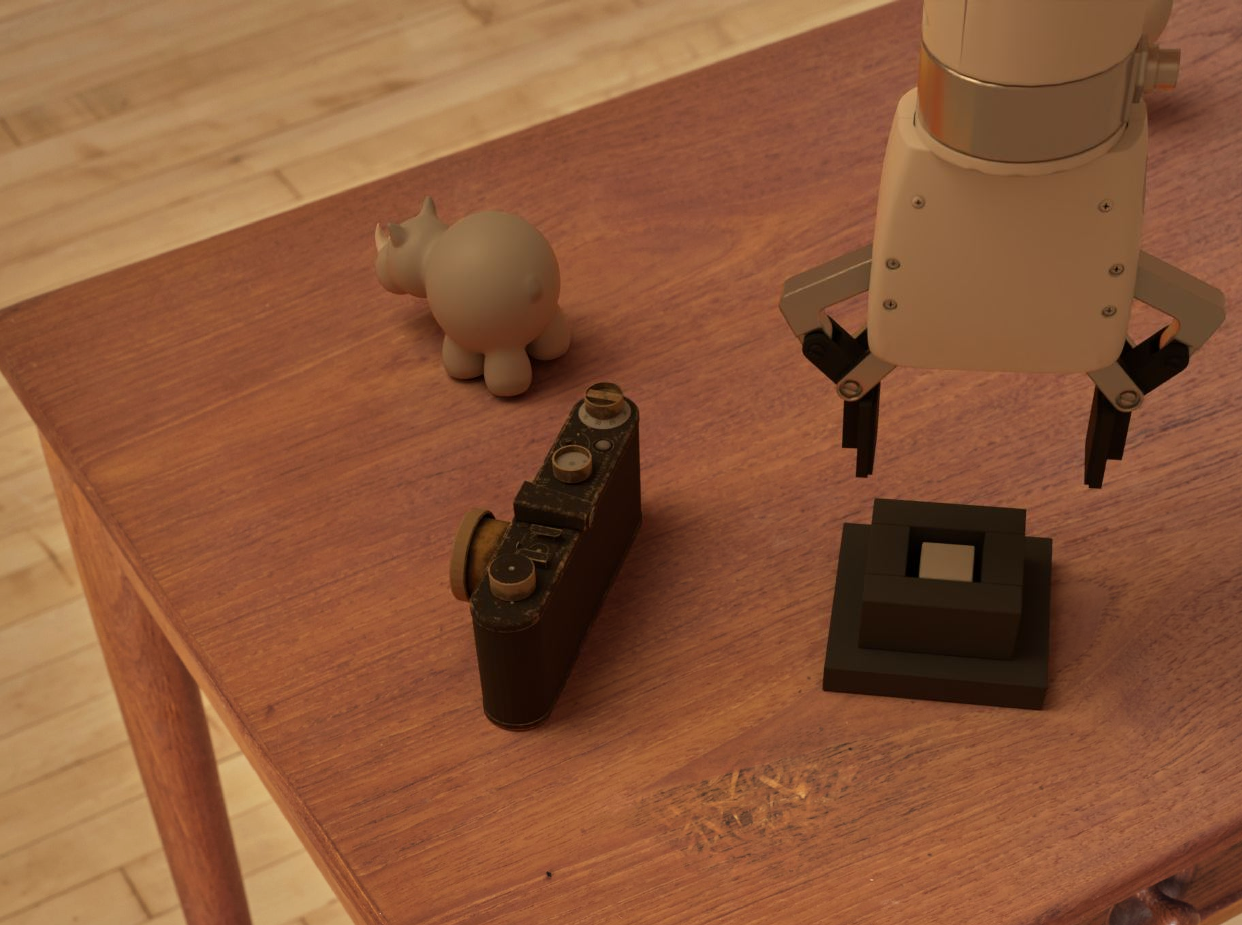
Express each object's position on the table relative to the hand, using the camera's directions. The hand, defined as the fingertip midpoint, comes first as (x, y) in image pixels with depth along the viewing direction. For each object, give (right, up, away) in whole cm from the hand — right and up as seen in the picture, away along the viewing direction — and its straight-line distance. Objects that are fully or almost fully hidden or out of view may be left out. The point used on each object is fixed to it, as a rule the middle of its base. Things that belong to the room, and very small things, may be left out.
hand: (978, 462), depth 78 cm
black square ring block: (0, -5, +6) cm, 8 cm away
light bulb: (+15, +29, +33) cm, 46 cm away
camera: (-19, -4, +10) cm, 22 cm away
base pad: (0, -6, +8) cm, 10 cm away
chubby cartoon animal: (-23, +12, +23) cm, 35 cm away
